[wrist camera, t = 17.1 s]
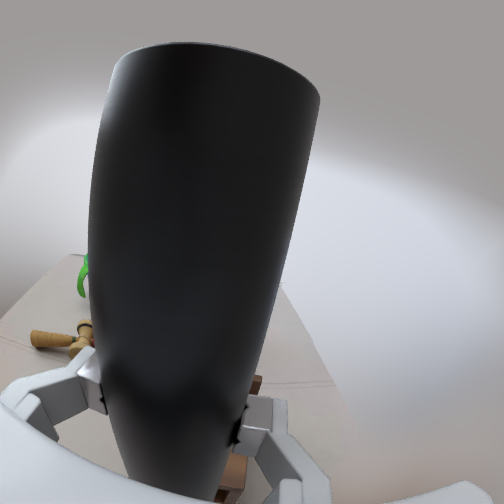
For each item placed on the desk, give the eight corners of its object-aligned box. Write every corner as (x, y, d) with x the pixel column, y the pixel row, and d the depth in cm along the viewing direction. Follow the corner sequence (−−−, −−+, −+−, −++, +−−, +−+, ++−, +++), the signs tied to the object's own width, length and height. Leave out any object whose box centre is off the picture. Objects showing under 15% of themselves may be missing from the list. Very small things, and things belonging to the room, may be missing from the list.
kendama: (31, 367, 30) (127, 372, 36) (20, 333, 29) (119, 336, 35) (45, 346, 38) (131, 348, 43) (37, 315, 37) (126, 315, 42)
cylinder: (134, 519, 9) (73, 50, 3) (150, 471, 14) (159, 98, 7) (204, 537, 9) (348, 66, 3) (213, 487, 14) (304, 119, 7)
